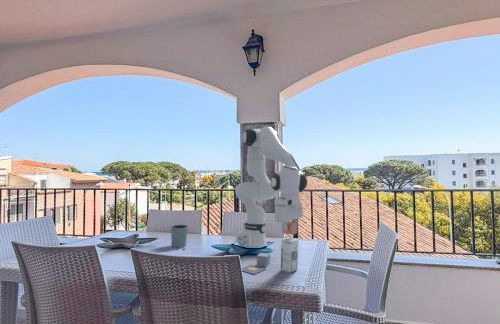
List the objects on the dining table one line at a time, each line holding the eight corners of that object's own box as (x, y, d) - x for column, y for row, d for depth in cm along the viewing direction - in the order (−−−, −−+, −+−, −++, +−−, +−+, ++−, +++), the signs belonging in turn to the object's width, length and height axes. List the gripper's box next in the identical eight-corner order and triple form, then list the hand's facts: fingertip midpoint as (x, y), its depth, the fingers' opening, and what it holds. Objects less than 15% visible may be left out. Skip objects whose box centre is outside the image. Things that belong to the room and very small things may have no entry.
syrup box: (287, 267, 144) (287, 237, 144) (297, 270, 140) (298, 239, 140) (280, 270, 139) (280, 239, 140) (291, 273, 136) (291, 241, 136)
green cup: (175, 243, 186) (175, 224, 186) (190, 244, 184) (190, 225, 184) (167, 247, 176) (167, 227, 176) (183, 249, 174) (183, 228, 174)
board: (239, 270, 139) (239, 269, 139) (250, 265, 146) (250, 264, 146) (254, 274, 133) (254, 273, 133) (266, 269, 140) (266, 268, 140)
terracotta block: (282, 233, 140) (282, 222, 140) (287, 231, 144) (288, 221, 144) (291, 234, 136) (291, 223, 137) (297, 232, 140) (297, 222, 141)
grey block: (256, 265, 146) (256, 255, 146) (260, 262, 151) (260, 252, 151) (266, 267, 144) (266, 256, 144) (269, 264, 149) (269, 254, 149)
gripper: (294, 198, 151) (294, 225, 150) (272, 201, 134) (272, 232, 134) (306, 198, 147) (305, 227, 146) (284, 202, 131) (284, 234, 130)
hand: (289, 229), depth 140 cm, fingers closed on terracotta block, 5 cm apart
